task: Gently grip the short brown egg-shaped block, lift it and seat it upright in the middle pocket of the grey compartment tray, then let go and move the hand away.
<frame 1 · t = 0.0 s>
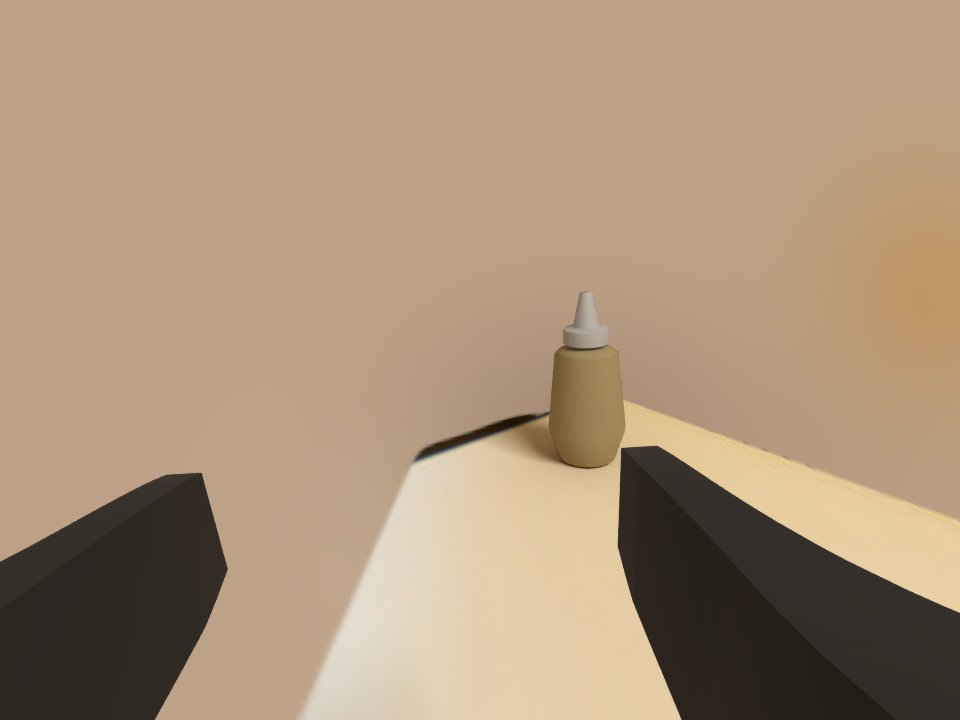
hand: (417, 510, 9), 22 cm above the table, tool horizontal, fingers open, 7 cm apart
squeeze bottle: (587, 458, 60), on the table
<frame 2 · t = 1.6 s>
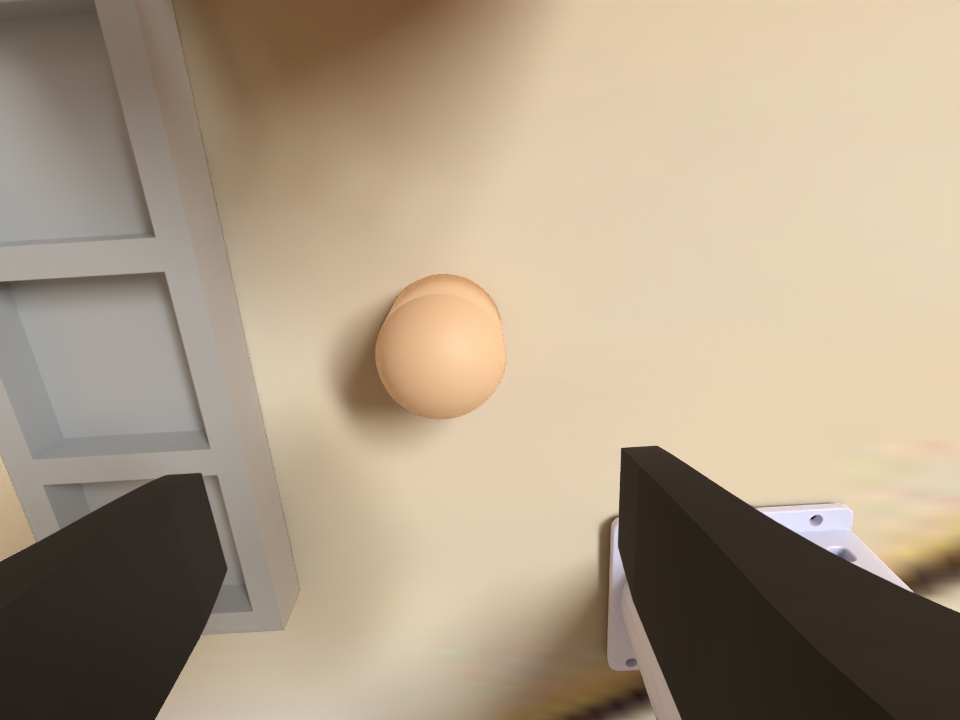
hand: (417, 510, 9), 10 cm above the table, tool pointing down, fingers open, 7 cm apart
grey compartment tray: (133, 349, 19), on the table
egg: (444, 330, 19), on the table
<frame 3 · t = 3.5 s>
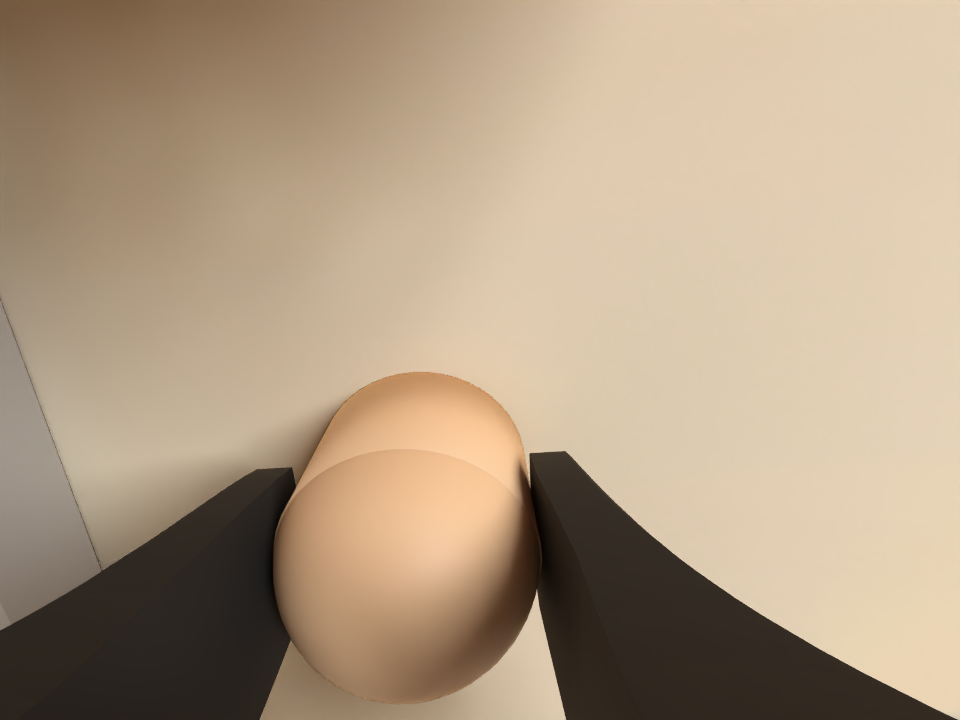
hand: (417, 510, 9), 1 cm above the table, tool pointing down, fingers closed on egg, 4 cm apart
egg: (423, 466, 11), on the table, touching gripper
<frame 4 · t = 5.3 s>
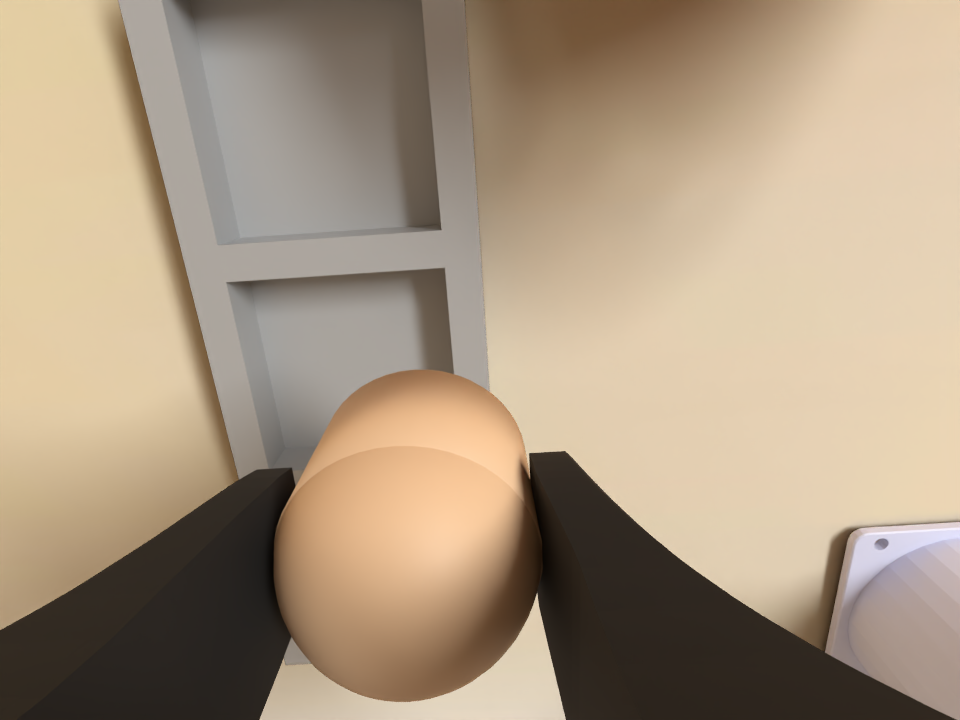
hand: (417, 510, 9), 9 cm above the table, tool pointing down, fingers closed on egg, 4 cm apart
grey compartment tray: (364, 352, 18), on the table
egg: (424, 463, 11), point 8 cm above the table, touching gripper
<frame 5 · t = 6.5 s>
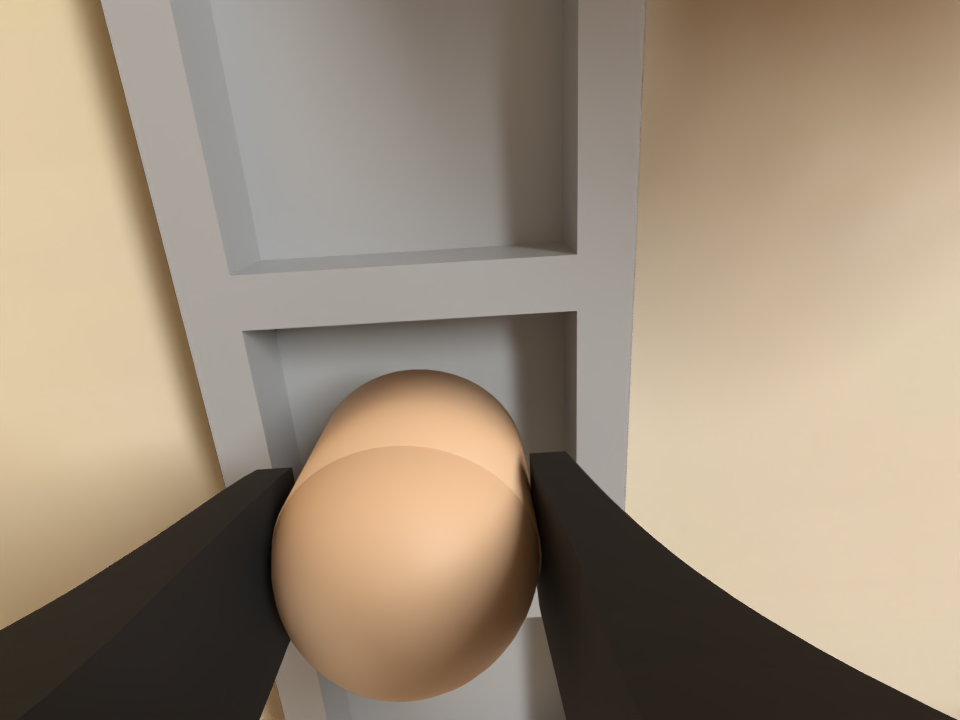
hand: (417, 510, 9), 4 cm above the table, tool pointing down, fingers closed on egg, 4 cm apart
grey compartment tray: (431, 419, 13), on the table
egg: (422, 463, 11), point 2 cm above the table, touching gripper
when the fingers open (3 cm above the table, at t = 7.4 s): egg stays where it is, resting on grey compartment tray.
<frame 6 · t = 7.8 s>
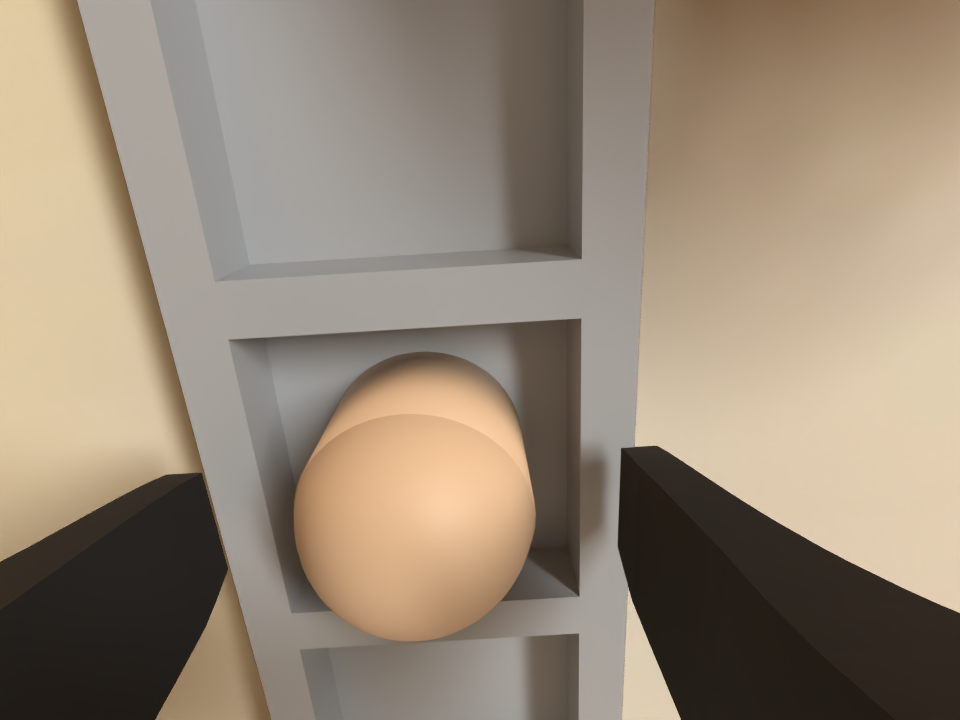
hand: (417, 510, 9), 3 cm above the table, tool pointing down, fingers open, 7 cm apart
grey compartment tray: (429, 429, 12), on the table
egg: (427, 439, 12), point 1 cm above the table, touching grey compartment tray
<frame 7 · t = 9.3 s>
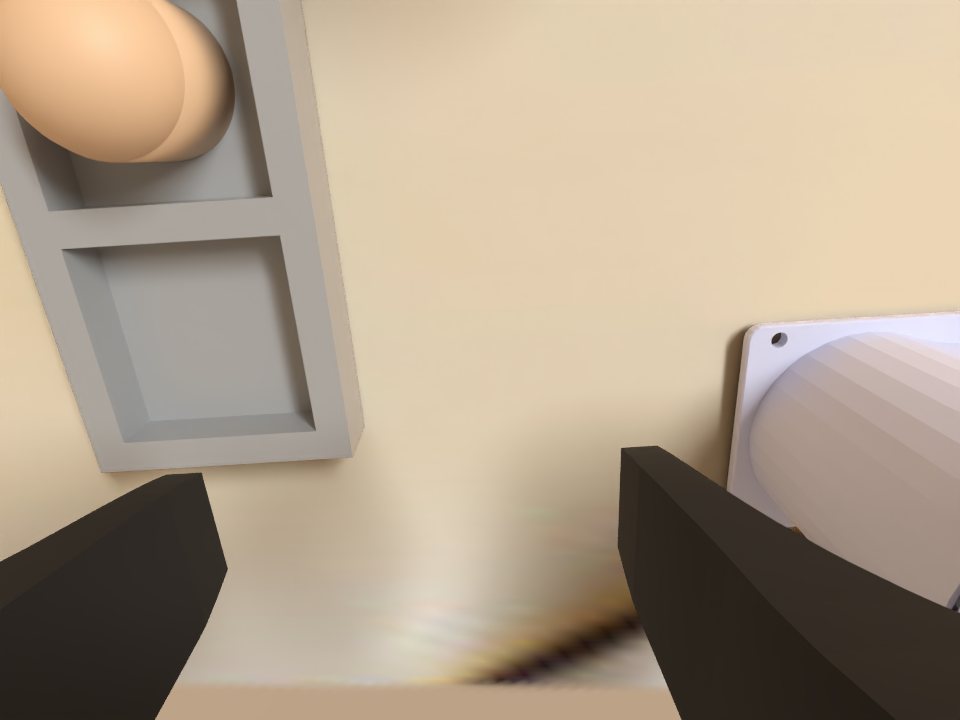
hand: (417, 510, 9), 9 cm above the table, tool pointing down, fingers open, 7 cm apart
grey compartment tray: (171, 88, 16), on the table
egg: (160, 83, 15), point 1 cm above the table, touching grey compartment tray
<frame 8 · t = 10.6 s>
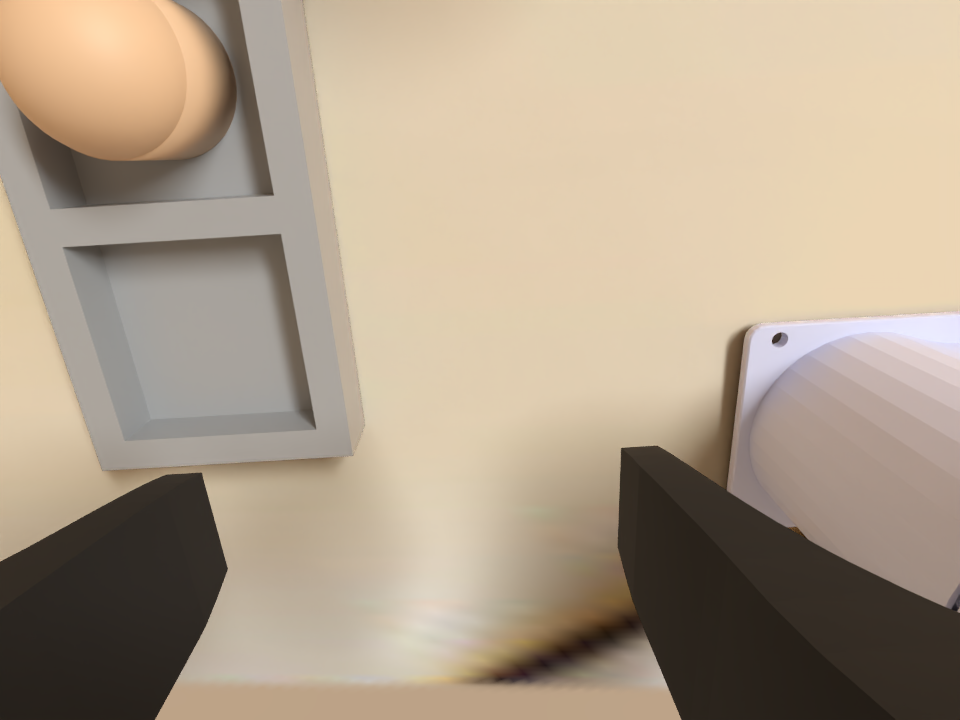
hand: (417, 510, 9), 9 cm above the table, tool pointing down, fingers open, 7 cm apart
grey compartment tray: (173, 87, 16), on the table
egg: (162, 82, 15), point 1 cm above the table, touching grey compartment tray
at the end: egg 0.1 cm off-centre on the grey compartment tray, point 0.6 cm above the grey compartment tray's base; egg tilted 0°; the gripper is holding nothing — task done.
